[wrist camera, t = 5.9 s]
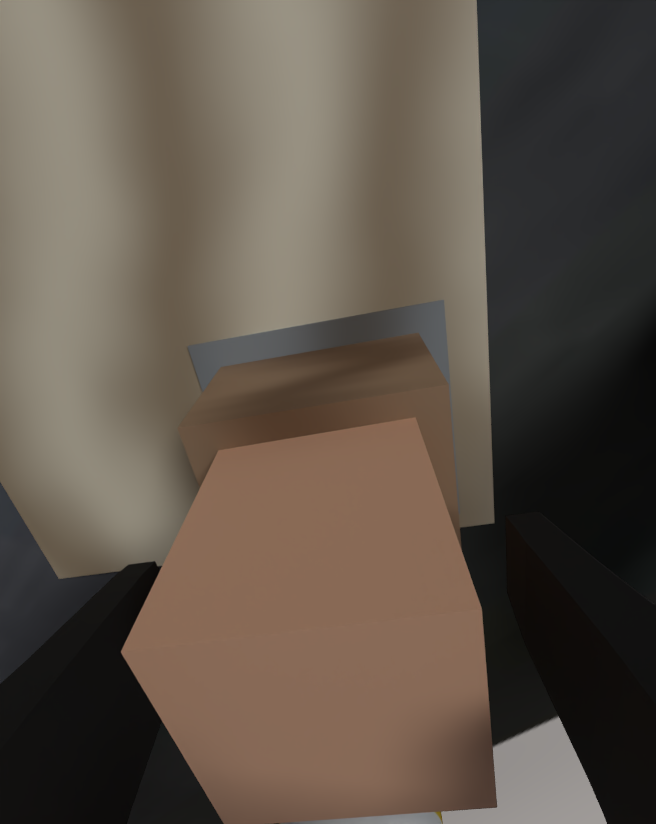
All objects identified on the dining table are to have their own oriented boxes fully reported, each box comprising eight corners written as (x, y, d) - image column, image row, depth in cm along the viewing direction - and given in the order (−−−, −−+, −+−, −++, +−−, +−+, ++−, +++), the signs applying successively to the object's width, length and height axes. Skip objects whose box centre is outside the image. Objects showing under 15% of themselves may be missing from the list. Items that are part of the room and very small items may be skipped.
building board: (461, -122, 10) (472, -153, 9) (487, 509, 17) (495, 524, 16) (-219, 64, 11) (-263, 54, 10) (70, 563, 18) (57, 580, 18)
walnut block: (418, 332, 13) (448, 384, 9) (435, 498, 15) (464, 590, 12) (220, 367, 14) (177, 428, 10) (268, 521, 16) (247, 614, 12)
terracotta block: (415, 417, 10) (481, 608, 5) (435, 569, 12) (497, 807, 7) (218, 450, 10) (121, 651, 6) (268, 591, 12) (225, 827, 8)
